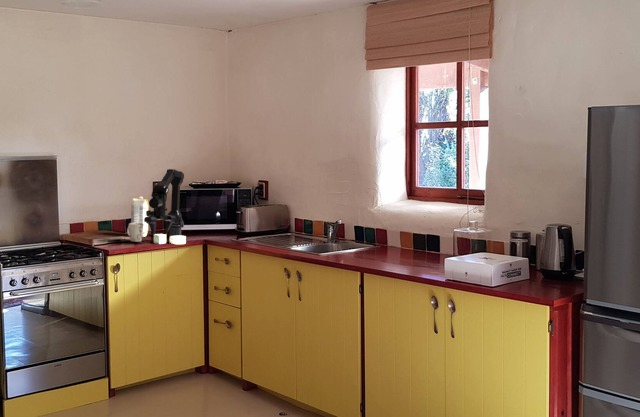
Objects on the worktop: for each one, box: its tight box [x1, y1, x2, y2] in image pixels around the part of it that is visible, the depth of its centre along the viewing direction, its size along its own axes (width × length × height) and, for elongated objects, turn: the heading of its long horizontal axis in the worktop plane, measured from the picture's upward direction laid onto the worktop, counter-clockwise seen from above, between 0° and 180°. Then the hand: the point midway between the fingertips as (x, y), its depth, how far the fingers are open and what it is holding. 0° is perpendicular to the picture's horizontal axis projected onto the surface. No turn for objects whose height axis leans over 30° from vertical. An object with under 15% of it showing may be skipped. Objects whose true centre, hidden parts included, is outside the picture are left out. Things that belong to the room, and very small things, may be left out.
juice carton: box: [130, 195, 150, 238], centre depth 446 cm, size 9×8×24 cm
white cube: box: [153, 233, 167, 245], centre depth 425 cm, size 5×5×5 cm
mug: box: [126, 222, 144, 243], centre depth 430 cm, size 8×13×10 cm, turn 53°
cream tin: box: [169, 234, 187, 245], centre depth 428 cm, size 9×9×4 cm
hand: (160, 233), depth 425 cm, fingers open, 9 cm apart
